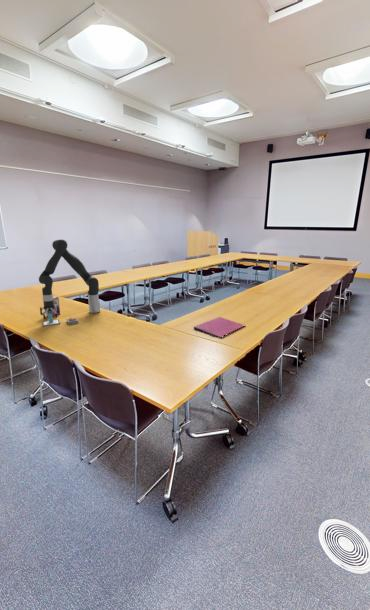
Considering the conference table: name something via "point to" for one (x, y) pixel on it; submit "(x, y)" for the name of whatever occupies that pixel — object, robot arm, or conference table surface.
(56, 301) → the candy bar box
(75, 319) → the button housing
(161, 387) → the conference table surface
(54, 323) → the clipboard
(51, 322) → the marker
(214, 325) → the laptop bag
